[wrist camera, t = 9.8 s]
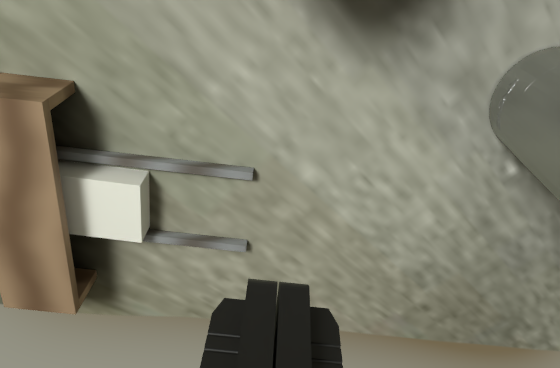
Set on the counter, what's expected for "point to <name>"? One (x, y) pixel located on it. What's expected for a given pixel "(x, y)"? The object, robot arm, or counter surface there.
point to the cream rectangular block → (105, 200)
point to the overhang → (60, 199)
